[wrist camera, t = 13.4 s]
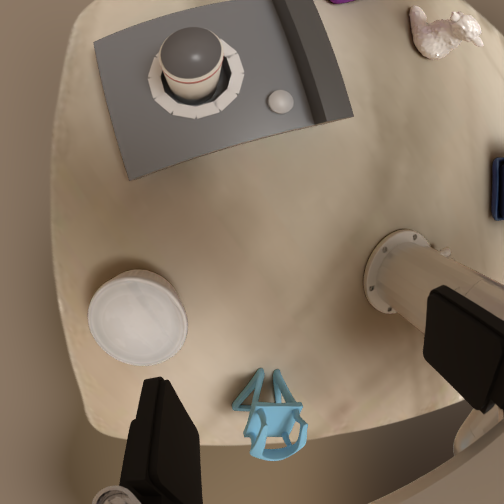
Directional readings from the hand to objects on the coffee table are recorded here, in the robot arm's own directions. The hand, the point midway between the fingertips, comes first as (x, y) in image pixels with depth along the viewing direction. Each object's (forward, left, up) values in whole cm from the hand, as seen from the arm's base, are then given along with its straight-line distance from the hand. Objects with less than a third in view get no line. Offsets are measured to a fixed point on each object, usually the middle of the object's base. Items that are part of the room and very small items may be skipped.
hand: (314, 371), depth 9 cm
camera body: (-3, -16, -26) cm, 30 cm away
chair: (+3, +25, -26) cm, 36 cm away
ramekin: (+13, +6, -26) cm, 30 cm away
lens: (-1, -16, -24) cm, 29 cm away
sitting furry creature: (-36, -19, -26) cm, 48 cm away
